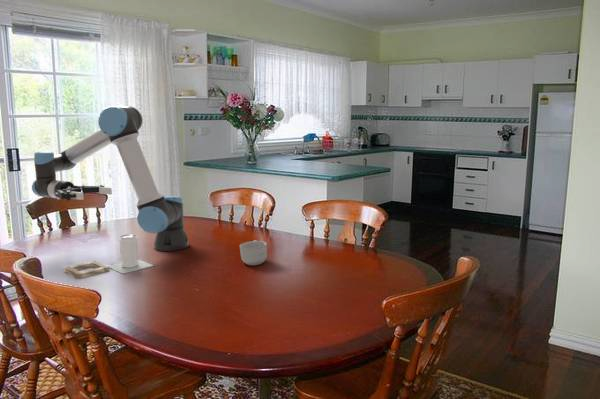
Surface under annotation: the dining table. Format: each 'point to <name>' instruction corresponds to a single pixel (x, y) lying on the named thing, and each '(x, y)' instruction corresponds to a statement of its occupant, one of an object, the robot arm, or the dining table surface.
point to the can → (128, 251)
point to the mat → (126, 270)
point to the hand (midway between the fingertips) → (97, 193)
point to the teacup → (253, 252)
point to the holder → (99, 269)
